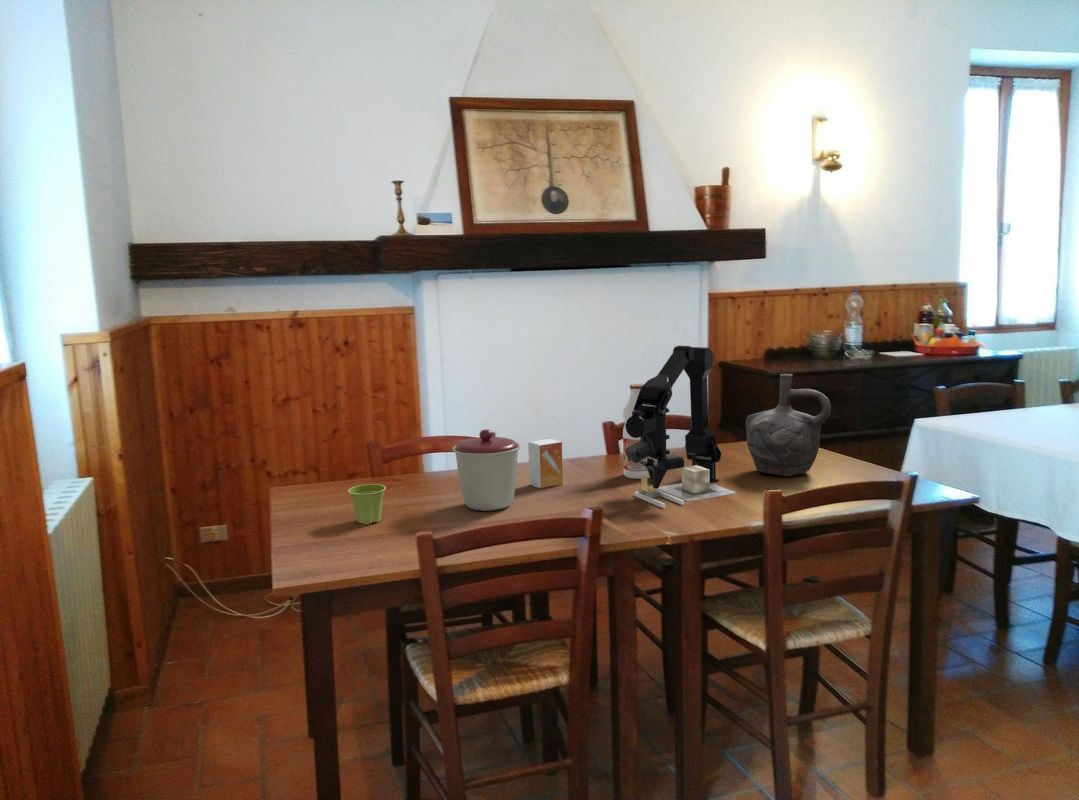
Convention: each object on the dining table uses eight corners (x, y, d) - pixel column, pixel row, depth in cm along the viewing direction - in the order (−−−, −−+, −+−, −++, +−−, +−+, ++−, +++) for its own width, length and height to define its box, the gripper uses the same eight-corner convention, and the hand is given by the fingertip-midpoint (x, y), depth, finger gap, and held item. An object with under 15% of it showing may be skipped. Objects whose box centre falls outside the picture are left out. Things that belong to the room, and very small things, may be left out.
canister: (517, 494, 233) (514, 421, 230) (527, 512, 215) (524, 433, 212) (453, 499, 230) (449, 425, 227) (458, 518, 212) (454, 438, 209)
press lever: (652, 493, 226) (651, 473, 226) (660, 496, 223) (659, 476, 222) (638, 495, 225) (638, 475, 224) (646, 498, 221) (646, 478, 220)
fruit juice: (637, 481, 244) (636, 387, 240) (617, 475, 252) (615, 384, 248) (661, 475, 250) (660, 384, 245) (640, 470, 257) (639, 381, 253)
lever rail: (654, 496, 227) (654, 488, 227) (684, 508, 215) (684, 500, 214) (634, 499, 225) (634, 491, 224) (663, 512, 212) (663, 504, 212)
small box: (540, 489, 238) (539, 445, 236) (528, 484, 244) (527, 441, 241) (563, 484, 243) (562, 441, 241) (551, 480, 248) (550, 438, 246)
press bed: (701, 483, 239) (701, 479, 239) (736, 496, 224) (737, 492, 224) (654, 491, 232) (654, 487, 232) (688, 505, 218) (688, 500, 218)
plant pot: (380, 527, 207) (377, 493, 205) (344, 526, 208) (342, 493, 207) (392, 516, 216) (391, 484, 214) (358, 515, 217) (356, 483, 216)
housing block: (696, 485, 232) (696, 465, 231) (709, 490, 226) (709, 469, 225) (681, 488, 230) (681, 467, 229) (694, 493, 224) (694, 471, 223)
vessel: (828, 466, 255) (830, 370, 250) (829, 484, 234) (832, 379, 230) (747, 463, 262) (748, 369, 258) (742, 480, 242) (743, 378, 237)
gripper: (611, 429, 223) (612, 484, 225) (648, 440, 206) (649, 501, 209) (645, 424, 228) (646, 479, 230) (685, 435, 211) (685, 494, 213)
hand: (655, 488), depth 220 cm, fingers closed
